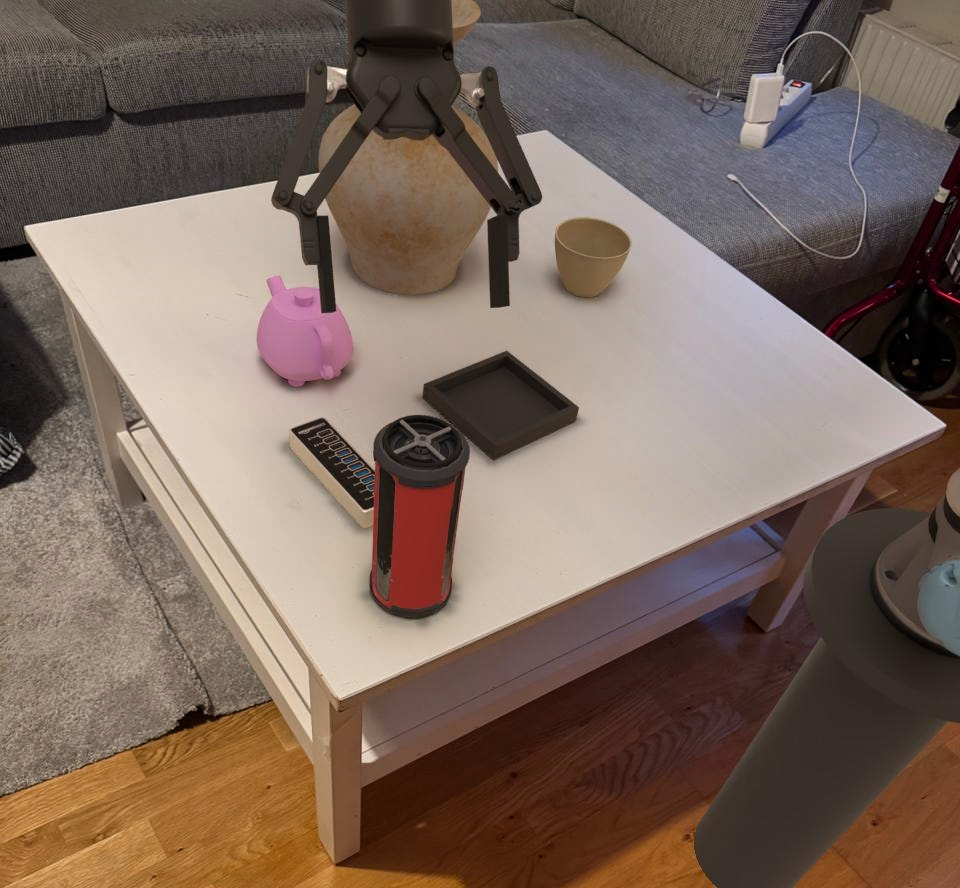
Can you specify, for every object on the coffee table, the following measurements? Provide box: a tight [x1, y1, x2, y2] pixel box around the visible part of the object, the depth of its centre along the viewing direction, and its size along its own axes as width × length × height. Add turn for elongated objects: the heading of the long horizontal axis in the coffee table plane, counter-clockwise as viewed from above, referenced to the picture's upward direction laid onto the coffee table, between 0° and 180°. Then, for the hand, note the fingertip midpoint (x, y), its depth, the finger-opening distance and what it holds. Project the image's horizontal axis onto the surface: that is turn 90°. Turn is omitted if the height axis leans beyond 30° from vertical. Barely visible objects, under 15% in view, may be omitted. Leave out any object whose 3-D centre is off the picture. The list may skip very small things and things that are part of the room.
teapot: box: [256, 274, 354, 387], centre depth 102 cm, size 10×15×9 cm
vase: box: [318, 0, 499, 296], centre depth 110 cm, size 22×22×30 cm
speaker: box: [368, 414, 471, 618], centre depth 79 cm, size 8×8×18 cm
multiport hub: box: [288, 416, 375, 529], centre depth 93 cm, size 4×14×2 cm, turn 38°
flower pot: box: [554, 216, 633, 298], centre depth 120 cm, size 10×10×7 cm
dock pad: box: [422, 350, 580, 461], centre depth 104 cm, size 13×13×2 cm
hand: (416, 310), depth 71 cm, fingers open, 13 cm apart
